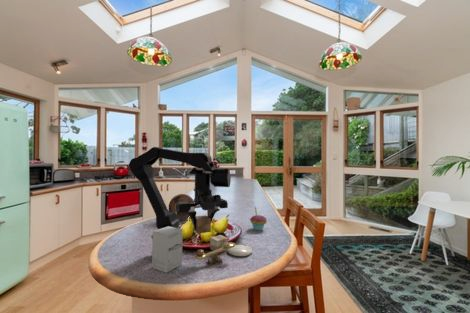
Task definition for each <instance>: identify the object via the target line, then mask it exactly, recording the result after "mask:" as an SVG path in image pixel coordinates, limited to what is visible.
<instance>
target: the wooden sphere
mask: <svg viewBox="0 0 470 313" xmlns="http://www.w3.org/2000/svg"><path fill="white" fill-rule="evenodd" d="M183 201H187V202H188V203H195V202H194V199H193V198H192V196H190V195H188V194H185V193H179V194H177V195H174V196H173V197H172V198H171V199H170V201H169V203H168V210H169V211H170V212H171V213H173V212H175V213H176V216H177V218H178V219H179V221H186V220H188V219H189V218H190V217H189V214H188V213H186V212H178V211H177V210H176V203H177V202H183ZM188 217H189V218H188Z"/></svg>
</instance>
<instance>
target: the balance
mask: <svg viewBox="0 0 470 313" xmlns="http://www.w3.org/2000/svg"><path fill="white" fill-rule="evenodd" d="M235 245H236V243H235V242H230V241H228V242H226V243H224V244H223V246H224V247H222V248H220V249H217V250H214V251H212V250H211V251H209V252H206V253H205V251H204V250H205V249H197V250H196V253H194V255H193V258H194V259H196V260H200V261H201V260H204V259H206V258H207V263H208V264H209V265H210V266H213V265H218V264H222V263H223V259H222V258H221V257H220V256H219V254H220V253H223V252H222V251H224V252H226V251H225V250H227V249H230V248H233V247H235ZM227 251H228V250H227ZM219 252H220V253H219ZM208 257H210V258H208Z"/></svg>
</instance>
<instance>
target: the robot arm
mask: <svg viewBox="0 0 470 313" xmlns="http://www.w3.org/2000/svg"><path fill="white" fill-rule="evenodd" d="M159 159H164V160H170V161H175V162H181V163H185V164H187V165H190V166H191V167H193V168H192V169H191V170H190V171H189V173H188V174H190V175H194V188H193V192H194V199H193V201H194V203H188V202H187V201H183V202H177V203H176V210H177V211H178V212H186V213H188V214H189V216H190V217H189V219H190V220H191V224H192V227H194V229H196V215H197V211H196V210H195V209H200V208H201V210H202V211H207V214H206V216H208V217H209V218H211V223H212V222H213V219H214V217H215V215H216V214H217V212H219V211H221V209H228V207H229V206H228V204H229V203H228V201H227V200H226V199H224V198H221V195H220V194H214V195H213V193H212V189H211V185H213V187H214V188H215V187H216V188H217V187H218V188H230V187H231V178H232V177H231V173H230V168H217V167H216V166H215V164H214V162H213V159H212V156H211V155H210V154H209V153H207V152H185V151H179V150H172V149H169V148H168V149H167V148H162V147H159V146H153V147H151V148H150V149H149V150H147V151H146V152H144V153H141V154H140V155H138V157H133V158H132V159H131V160H130V161H129V163H128V168H129V170H130V172H131V173H132V176H134V177H135V178H136V179H137V180H138V181H139V182H140V184H141V186H142V188H143V190H144V192H145V194H146V197H147V199H148V201H149V203H150V205H151V207H152V210H153V211H154V213H155V214H154V215H155V225H156V230H158V229H161V228H165V227H168V226H170V227H174V228H179V227H180V224H179V223H180V220H179V219H178V218H177V216H176V213H175V212H173V213H171V212H170V211H169V208H168V207H167V205H166V203H165V200H164V198H163V196H162V194H161V192H160V190H159V187H158V185H157V183H156V181H155V179H154V175H153V174H154V173H153V165H154V164H155V163H156V162H157V161H158V160H159ZM152 236H153V234H152V235H151V238H152Z"/></svg>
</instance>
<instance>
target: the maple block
mask: <svg viewBox="0 0 470 313" xmlns="http://www.w3.org/2000/svg"><path fill="white" fill-rule="evenodd" d="M226 242H229V241H228V237H227V236H224V235H222V234H218V235H215V236H211V237H210V242H209V243H210V246H209V248H210V251H211V252H212V251H214V250H217V249H220V248H222V247H224V246H223V244H224V243H226ZM224 252H228V249H227V250H225V251H222V252H219V253H218V254H220V253H224Z"/></svg>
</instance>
